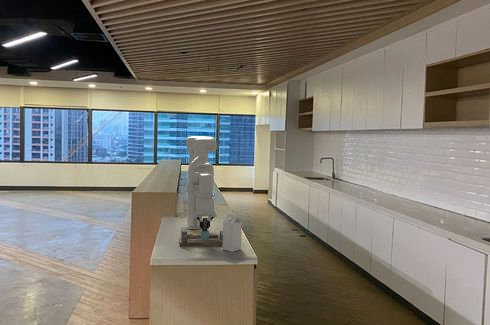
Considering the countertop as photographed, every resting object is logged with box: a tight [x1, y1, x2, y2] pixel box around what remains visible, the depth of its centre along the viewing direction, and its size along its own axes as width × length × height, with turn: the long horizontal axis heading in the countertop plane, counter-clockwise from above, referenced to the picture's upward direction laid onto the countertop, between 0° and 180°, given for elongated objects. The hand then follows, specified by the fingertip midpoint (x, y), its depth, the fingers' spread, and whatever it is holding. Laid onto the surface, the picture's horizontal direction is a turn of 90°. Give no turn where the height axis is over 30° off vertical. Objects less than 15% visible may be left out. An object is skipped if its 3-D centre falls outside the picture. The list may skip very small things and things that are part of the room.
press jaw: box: [200, 217, 210, 239], centre depth 248 cm, size 7×4×12 cm, turn 9°
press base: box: [178, 227, 223, 247], centre depth 248 cm, size 12×25×8 cm, turn 99°
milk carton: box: [222, 213, 243, 253], centre depth 236 cm, size 7×7×19 cm
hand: (204, 228), depth 248 cm, fingers closed on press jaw, 3 cm apart
